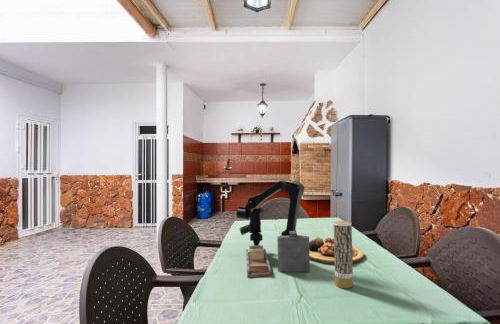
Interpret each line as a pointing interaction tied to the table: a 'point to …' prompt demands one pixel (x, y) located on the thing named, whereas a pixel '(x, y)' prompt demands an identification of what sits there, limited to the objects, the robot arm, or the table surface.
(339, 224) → the tree log
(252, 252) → the cream square block
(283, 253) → the flask
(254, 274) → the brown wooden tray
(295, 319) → the table surface
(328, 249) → the wooden plate with food
